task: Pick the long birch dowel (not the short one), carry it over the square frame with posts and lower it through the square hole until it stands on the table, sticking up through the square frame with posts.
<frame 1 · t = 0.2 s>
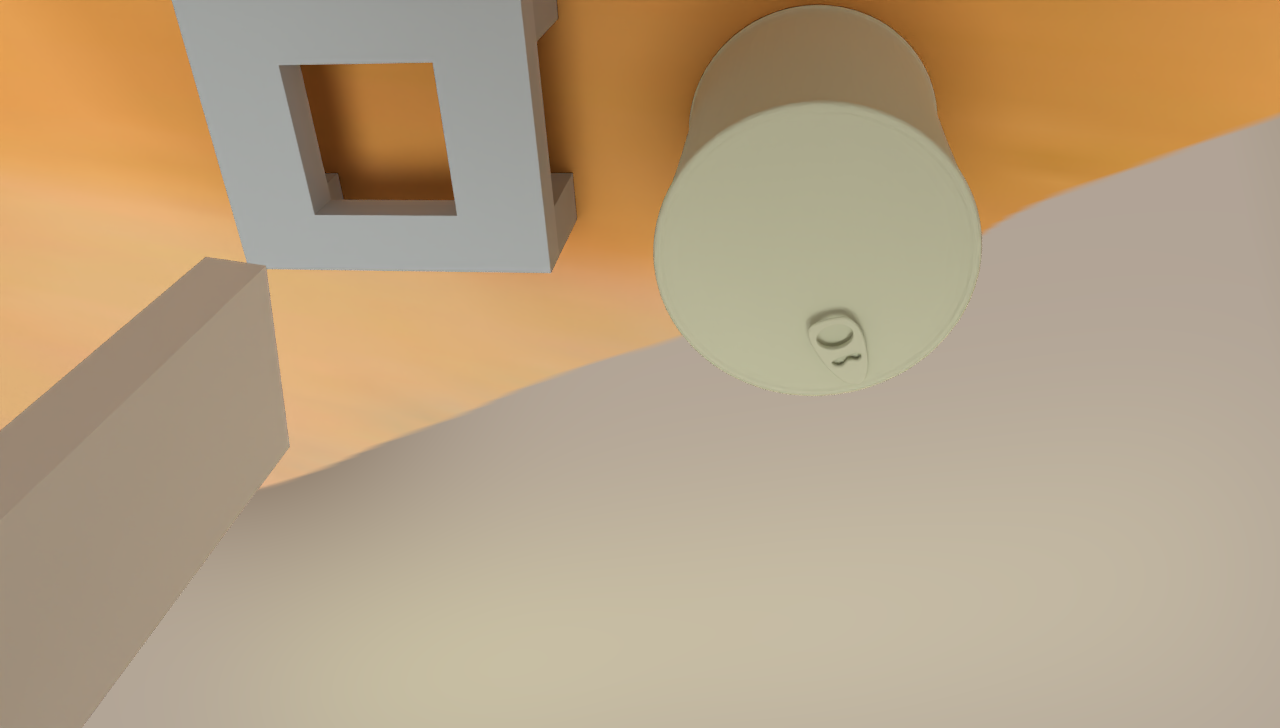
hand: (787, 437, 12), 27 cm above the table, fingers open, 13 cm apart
square frame with posts: (417, 100, 39), on the table
can: (810, 128, 38), on the table
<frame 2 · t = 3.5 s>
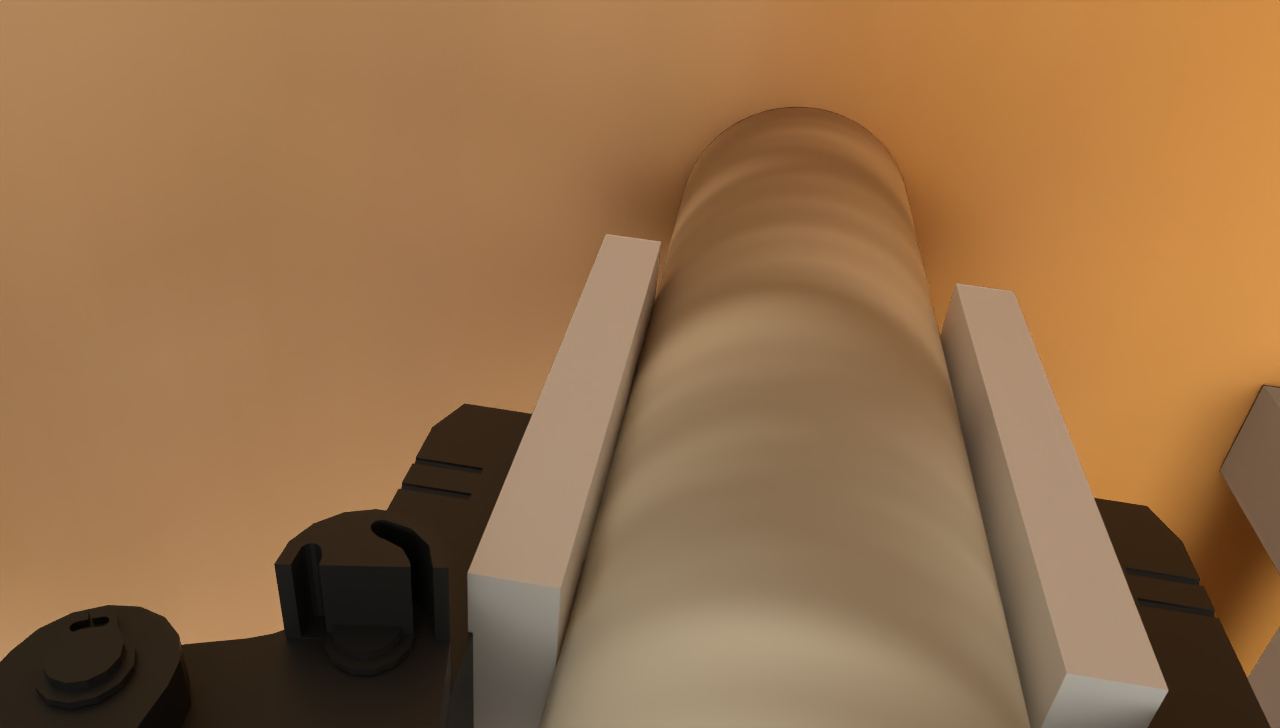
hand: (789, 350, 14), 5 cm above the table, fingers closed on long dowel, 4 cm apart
long dowel: (792, 217, 18), on the table, touching gripper
when the fingers open (7 cm above the table, at t = 9.3 s): long dowel drops 2 cm, on the table.
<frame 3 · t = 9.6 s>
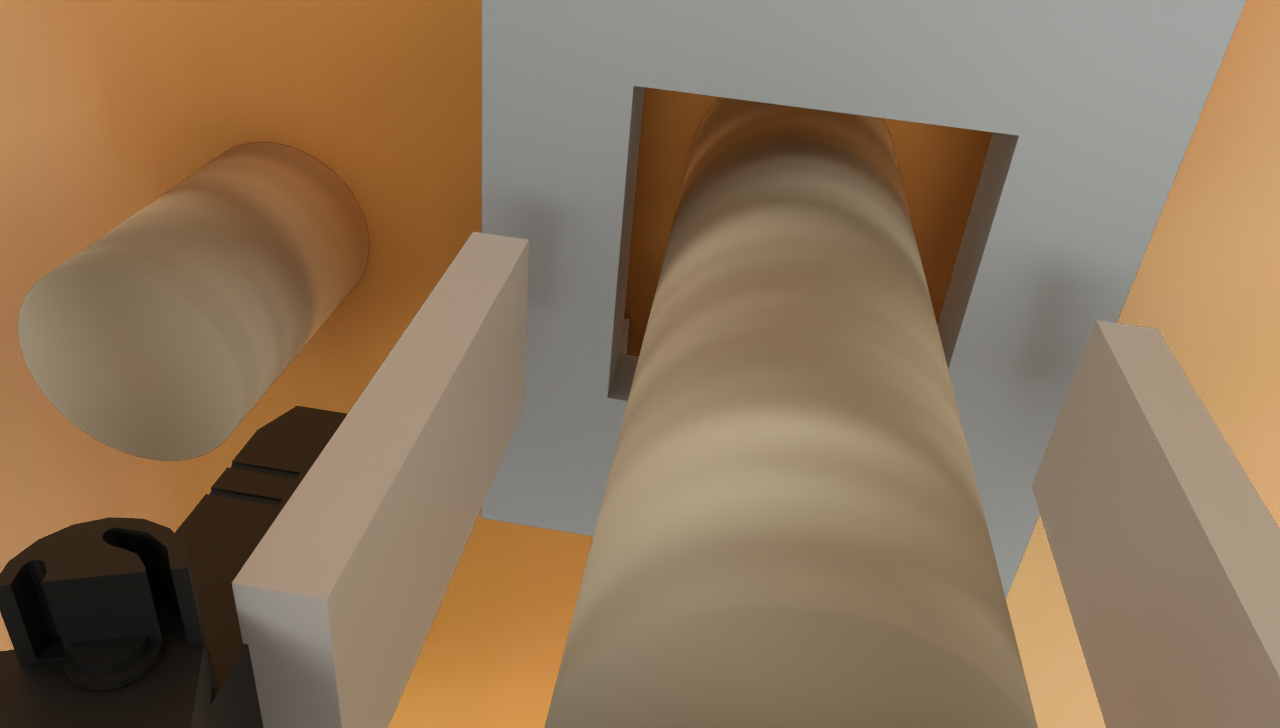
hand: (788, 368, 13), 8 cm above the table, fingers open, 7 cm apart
square frame with posts: (793, 167, 20), on the table
short dowel: (283, 228, 22), on the table
long dowel: (790, 167, 20), on the table
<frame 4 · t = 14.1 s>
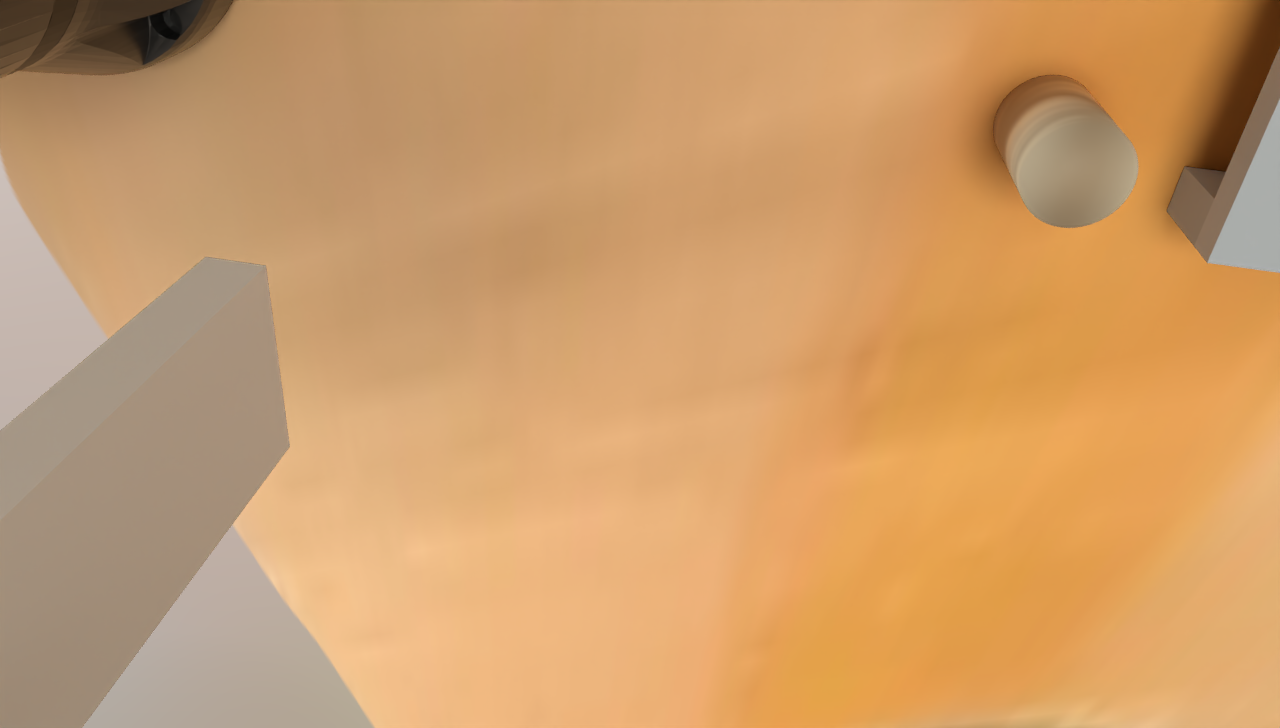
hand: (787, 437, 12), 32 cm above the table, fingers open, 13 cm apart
short dowel: (1044, 123, 41), on the table
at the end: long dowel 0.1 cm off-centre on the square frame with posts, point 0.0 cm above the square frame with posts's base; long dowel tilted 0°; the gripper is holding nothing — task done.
